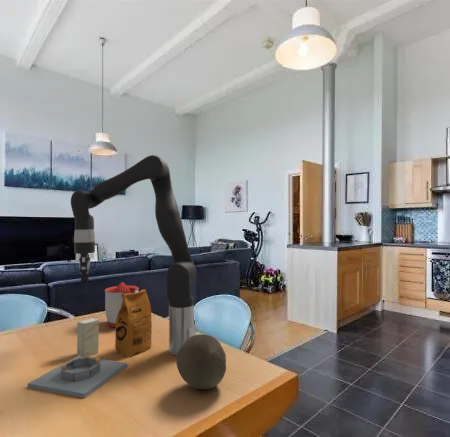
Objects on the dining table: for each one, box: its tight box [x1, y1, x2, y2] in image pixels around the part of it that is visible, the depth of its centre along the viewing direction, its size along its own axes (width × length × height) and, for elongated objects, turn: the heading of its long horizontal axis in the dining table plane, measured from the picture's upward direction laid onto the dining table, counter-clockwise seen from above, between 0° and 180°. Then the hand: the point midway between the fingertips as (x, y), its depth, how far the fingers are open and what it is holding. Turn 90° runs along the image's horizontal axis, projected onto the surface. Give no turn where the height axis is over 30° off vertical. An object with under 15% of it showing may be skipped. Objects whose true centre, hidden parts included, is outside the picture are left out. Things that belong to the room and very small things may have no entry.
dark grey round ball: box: [175, 334, 227, 390], centre depth 92 cm, size 14×14×15 cm
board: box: [27, 355, 128, 399], centre depth 99 cm, size 20×20×1 cm
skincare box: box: [76, 317, 100, 357], centre depth 116 cm, size 6×4×12 cm
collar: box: [60, 356, 101, 382], centre depth 99 cm, size 11×11×3 cm
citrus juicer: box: [104, 281, 140, 328], centre depth 150 cm, size 16×17×20 cm
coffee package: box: [114, 289, 153, 357], centre depth 120 cm, size 10×12×22 cm
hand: (85, 282), depth 125 cm, fingers open, 8 cm apart
